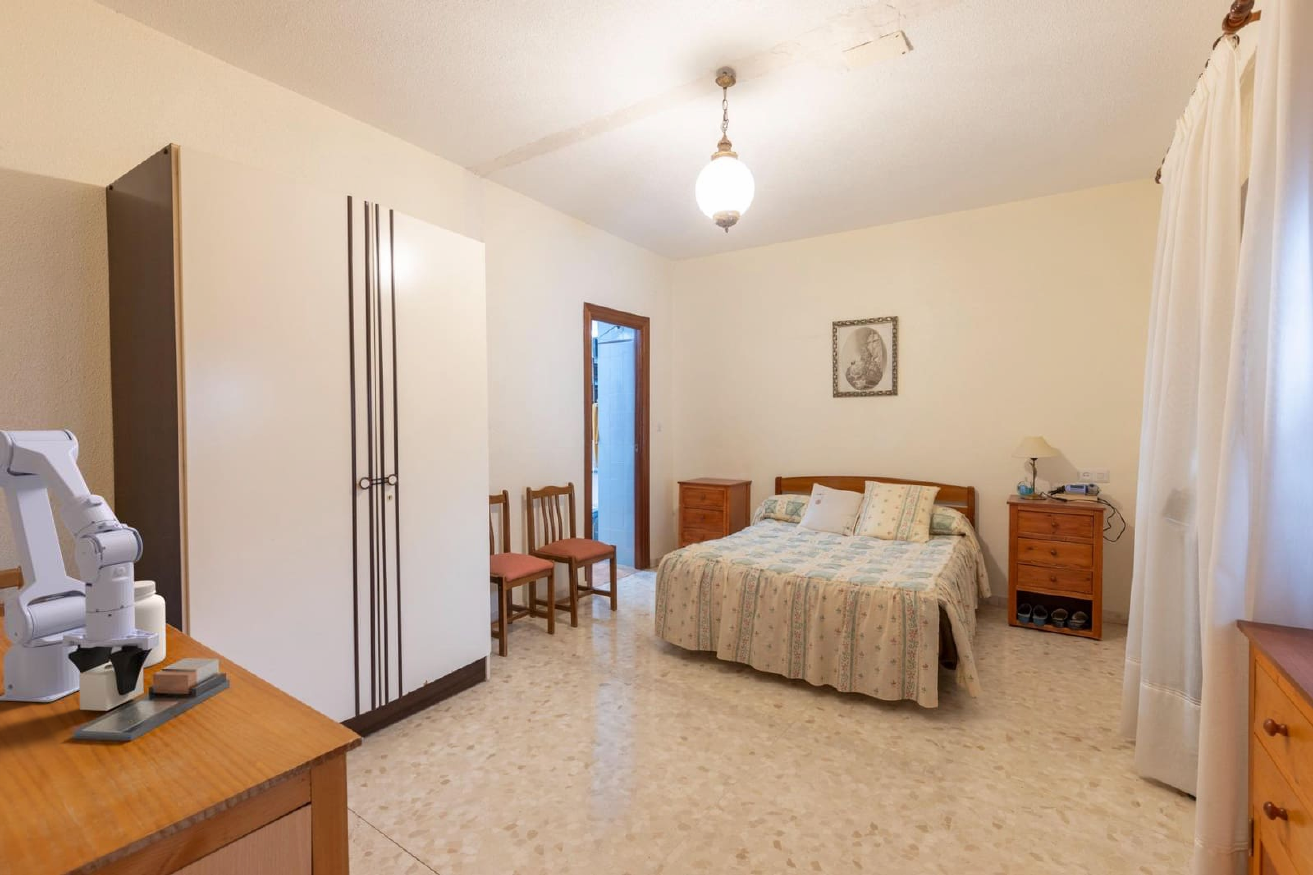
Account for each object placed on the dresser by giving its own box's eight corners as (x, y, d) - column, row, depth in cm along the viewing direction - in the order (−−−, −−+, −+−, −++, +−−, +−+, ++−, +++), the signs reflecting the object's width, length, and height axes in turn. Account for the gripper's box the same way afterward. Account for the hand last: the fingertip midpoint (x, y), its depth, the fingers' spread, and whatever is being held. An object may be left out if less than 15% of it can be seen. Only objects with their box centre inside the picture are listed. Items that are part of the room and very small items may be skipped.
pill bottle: (119, 676, 106) (117, 592, 106) (103, 666, 110) (101, 585, 110) (173, 660, 113) (171, 582, 113) (156, 652, 117) (154, 576, 117)
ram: (153, 694, 96) (153, 672, 96) (186, 678, 102) (185, 658, 102) (188, 695, 95) (187, 673, 95) (219, 679, 101) (218, 659, 101)
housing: (80, 709, 92) (79, 672, 92) (118, 692, 98) (117, 657, 98) (106, 710, 92) (105, 673, 91) (143, 693, 98) (142, 658, 97)
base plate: (72, 738, 85) (72, 721, 85) (180, 684, 102) (180, 671, 102) (131, 741, 84) (130, 724, 84) (229, 686, 102) (229, 672, 102)
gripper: (40, 613, 91) (42, 701, 91) (128, 616, 90) (130, 705, 90) (88, 599, 98) (90, 681, 98) (170, 602, 97) (172, 685, 97)
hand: (112, 691), depth 95 cm, fingers closed on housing, 4 cm apart
